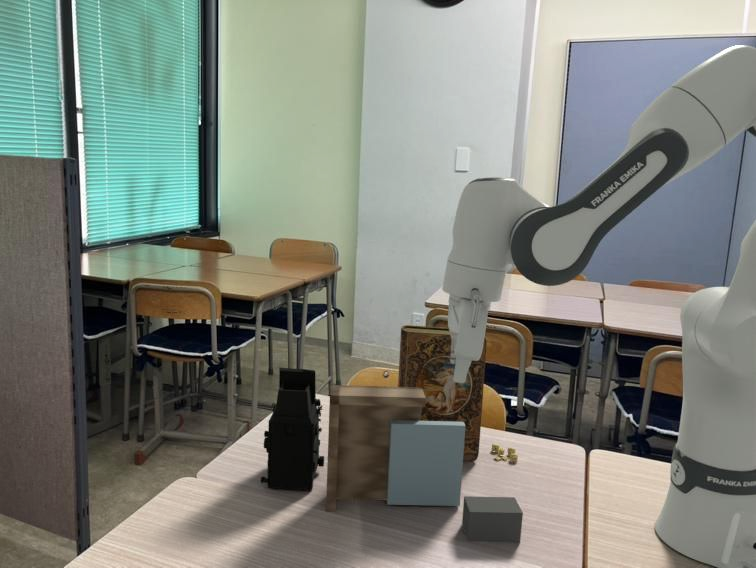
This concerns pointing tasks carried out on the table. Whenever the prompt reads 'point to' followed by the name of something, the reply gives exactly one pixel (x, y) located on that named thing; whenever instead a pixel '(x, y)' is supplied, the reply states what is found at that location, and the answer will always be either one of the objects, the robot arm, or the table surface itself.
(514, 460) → the dice set
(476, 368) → the book
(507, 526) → the block
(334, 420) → the open wooden box
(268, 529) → the table surface
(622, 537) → the table surface
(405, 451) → the door panel
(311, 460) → the camera
